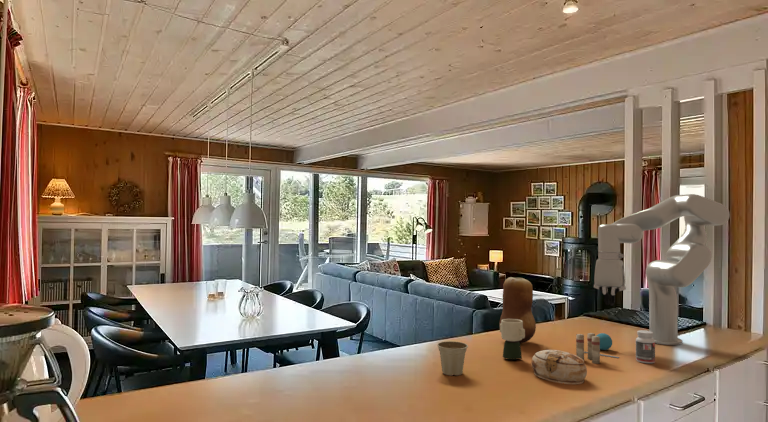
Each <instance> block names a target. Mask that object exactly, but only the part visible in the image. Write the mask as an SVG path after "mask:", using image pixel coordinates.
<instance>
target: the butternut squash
mask: <svg viewBox="0 0 768 422" xmlns="http://www.w3.org/2000/svg"><path fill="white" fill-rule="evenodd" d="M502 290H503V291H502V312H501V315H500V319H499V323H498V324H499V326H500V324H501V320H503V319H518V320H522V321H523V329H525V338H522V340H520V341H519V343H520V345H521V344H523V343H527V342H528V341H530V340H531V339H532V338H534V335H535V333H536V329H537V326H536V325H537V323H536V319H535V318H534V317H535V316H534V315H533V313H532V312H533V311H532V307H533V301H534V293H533V292H534V289H533V284H532V282H531V281H529V280H528V279H525V278H523V277H512V276H510V277H507V278H506V279H505V280H504V282H503V284H502Z"/></svg>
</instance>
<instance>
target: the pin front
mask: <svg viewBox="0 0 768 422" xmlns="http://www.w3.org/2000/svg"><path fill="white" fill-rule="evenodd" d="M586 334H587V338H586V339H587V352H588V353H587V359H588V360H589V361H590V360H591V361H592V336H596V333H594V332H588V333H586Z"/></svg>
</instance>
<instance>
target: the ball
mask: <svg viewBox="0 0 768 422" xmlns="http://www.w3.org/2000/svg"><path fill="white" fill-rule="evenodd" d="M595 336H598V337H600V351H608V350H610V349H611V347H612V346H613V339H612V337H611V336H610V335H609V334H607V333H604V332H600V333H598V334H597V335H596V334H595Z"/></svg>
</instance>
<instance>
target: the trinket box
mask: <svg viewBox="0 0 768 422" xmlns="http://www.w3.org/2000/svg"><path fill="white" fill-rule="evenodd" d="M531 369H532V370H533V374H534V375H535V376H536V377H538V378H541V379H543V380H546V381H548V382H553V383H557V384H563V383H564V385H581V384H584V382H585V379H586V377H587V375H588V369H587V366H586V362H585V359H584V360H583V359H581V358H580V357H578V356H576V354H573V353H570V352H568V351H564V350H560V349H559V350H558V349H544V350H540V351H537V352H535V353H534V355H533V356H532V357H531Z"/></svg>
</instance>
